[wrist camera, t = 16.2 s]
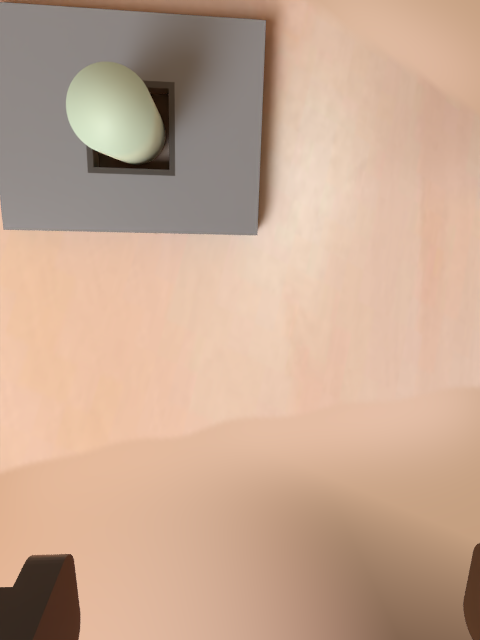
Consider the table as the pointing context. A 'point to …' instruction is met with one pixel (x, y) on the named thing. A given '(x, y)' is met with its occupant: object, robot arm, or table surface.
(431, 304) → the table surface
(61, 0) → the table surface
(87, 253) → the table surface
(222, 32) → the socket plate
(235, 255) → the table surface
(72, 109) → the peg
